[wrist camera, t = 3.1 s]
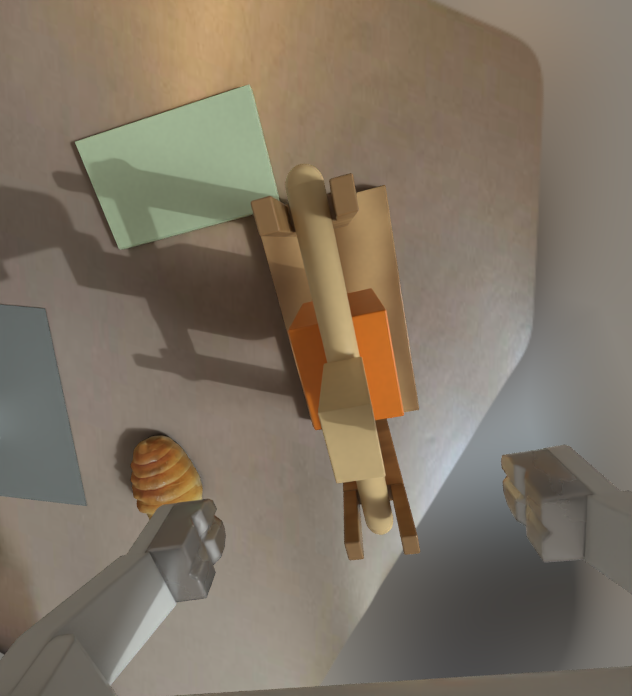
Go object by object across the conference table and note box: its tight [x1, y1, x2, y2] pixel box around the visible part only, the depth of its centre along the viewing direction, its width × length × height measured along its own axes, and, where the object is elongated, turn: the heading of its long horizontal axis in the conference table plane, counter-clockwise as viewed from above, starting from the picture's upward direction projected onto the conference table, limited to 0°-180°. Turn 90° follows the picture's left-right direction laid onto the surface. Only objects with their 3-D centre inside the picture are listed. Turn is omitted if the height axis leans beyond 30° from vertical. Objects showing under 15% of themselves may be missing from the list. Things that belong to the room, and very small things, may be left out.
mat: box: [75, 85, 280, 249], centre depth 25 cm, size 14×8×1 cm, turn 103°
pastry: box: [131, 435, 202, 520], centre depth 33 cm, size 9×7×4 cm
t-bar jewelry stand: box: [285, 164, 404, 535], centre depth 17 cm, size 5×20×13 cm, turn 13°
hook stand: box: [251, 173, 420, 560], centre depth 21 cm, size 10×19×16 cm, turn 13°
